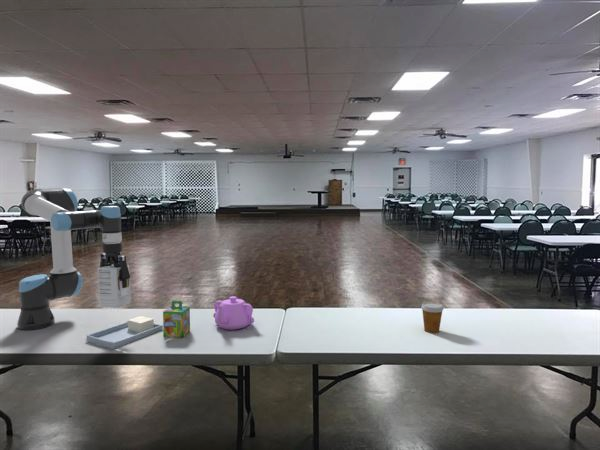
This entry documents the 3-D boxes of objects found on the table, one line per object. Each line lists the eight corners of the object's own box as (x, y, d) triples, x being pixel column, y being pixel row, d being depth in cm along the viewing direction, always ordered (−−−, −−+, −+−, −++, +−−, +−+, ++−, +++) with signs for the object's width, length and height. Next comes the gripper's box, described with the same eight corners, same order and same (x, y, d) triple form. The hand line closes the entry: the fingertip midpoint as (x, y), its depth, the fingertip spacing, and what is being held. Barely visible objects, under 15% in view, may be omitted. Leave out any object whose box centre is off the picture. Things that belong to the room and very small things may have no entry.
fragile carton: (128, 329, 194) (127, 320, 193) (140, 325, 200) (140, 315, 199) (141, 333, 189) (140, 323, 189) (153, 328, 195) (153, 318, 195)
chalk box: (163, 337, 185) (161, 304, 184) (171, 330, 194) (170, 298, 193) (183, 338, 184) (182, 304, 183) (190, 330, 194) (189, 299, 192)
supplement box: (118, 308, 177) (115, 268, 175) (98, 307, 179) (96, 268, 177) (131, 302, 186) (129, 264, 184) (113, 301, 188) (111, 263, 186)
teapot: (197, 331, 192) (196, 302, 191) (223, 317, 212) (222, 290, 211) (239, 338, 184) (239, 307, 182) (262, 322, 204) (262, 294, 203)
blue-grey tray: (86, 341, 181) (86, 335, 181) (136, 324, 203) (136, 318, 203) (113, 349, 172) (113, 343, 172) (162, 330, 194) (162, 325, 193)
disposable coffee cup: (444, 329, 193) (444, 303, 192) (441, 335, 185) (442, 309, 184) (422, 326, 197) (423, 300, 196) (419, 332, 189) (419, 306, 188)
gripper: (87, 241, 183) (90, 292, 185) (122, 245, 171) (124, 299, 173) (103, 239, 189) (106, 288, 191) (137, 243, 177) (140, 294, 179)
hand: (115, 293), depth 182 cm, fingers closed on supplement box, 11 cm apart
